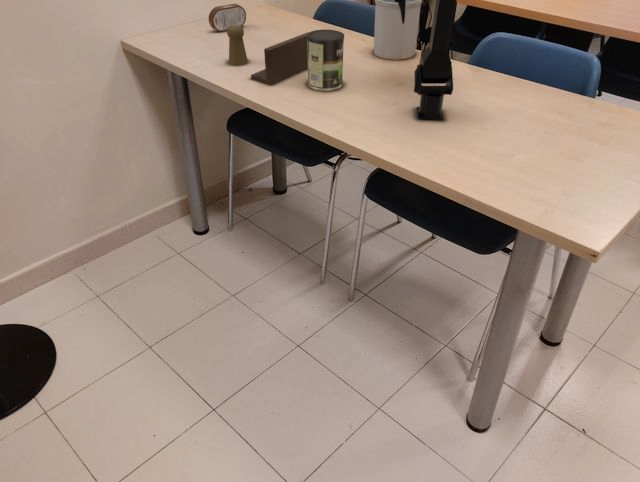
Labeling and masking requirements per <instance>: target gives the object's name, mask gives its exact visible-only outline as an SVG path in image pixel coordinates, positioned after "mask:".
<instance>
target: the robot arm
mask: <svg viewBox="0 0 640 482" xmlns="http://www.w3.org/2000/svg"><path fill="white" fill-rule="evenodd" d="M394 1H395V2H398V4H399V8H400V13H401V19H402V23H403V24H404V21H405V7H406V0H394ZM457 2H458V0H435V5H434V12H433V17H432V24H431V30H430V37H429V43H428V46H427V48H423V49H422V50H421V51H420V58H419V62H418V64H417V65H416V68H415V70H414V87H413V93H416V94H417V96H420V100H419V106H417V107H416V115H417V119H418V120H434V121H435V120H436V121H437V120H438V121H443V120H444V118H445V117H444V114H443V104H444V97H445V95H449V96H452V94H453V92H454V78H453V74H454V73H453V65H452V64H453V62H452V60H451V57H450V55H449V52H448V49H449V45H450V38H451V35H452V34H451V33H452V29H453V24H454V18H455V12H456V6H457ZM426 84H427V85H426ZM429 84H431V85H429ZM432 84H433V85H432ZM434 84H435V85H434ZM436 84H439V85H436ZM440 84H441V85H440ZM442 84H443V85H442Z"/></svg>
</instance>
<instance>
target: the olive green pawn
mask: <svg viewBox="0 0 640 482" xmlns="http://www.w3.org/2000/svg"><path fill="white" fill-rule="evenodd" d="M226 34H227V37H228V39H229V40H228V43H229V44H228V45H229V46H228V64H229V65H231V66H244V65H247V64H248V63H249V61H248V56H247V51H246V47H245V43H244V36H245V31H244V28H243V26H242V27H241V26H237V25H234V26H230V27H228V29H227V31H226Z"/></svg>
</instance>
